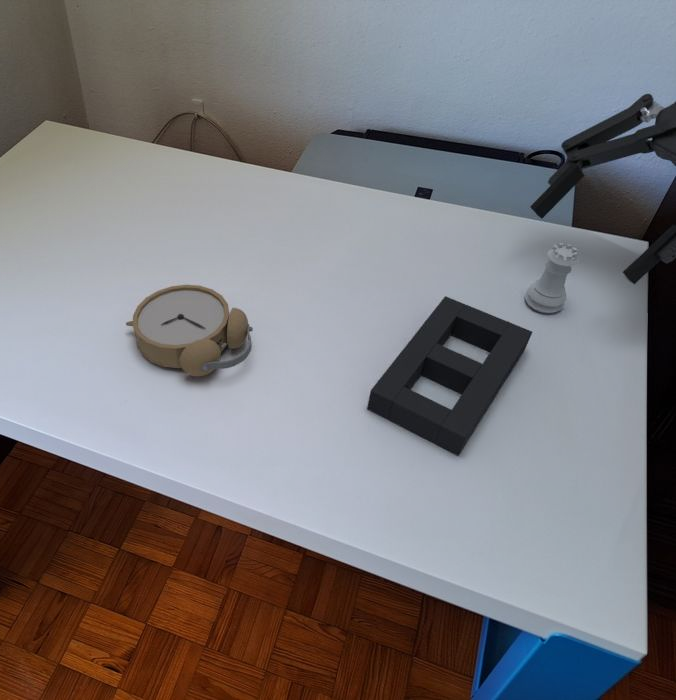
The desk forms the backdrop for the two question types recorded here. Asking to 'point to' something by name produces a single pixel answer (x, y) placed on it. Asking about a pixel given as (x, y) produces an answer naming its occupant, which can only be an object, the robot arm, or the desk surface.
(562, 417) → the desk surface
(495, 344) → the socket pad
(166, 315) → the alarm clock
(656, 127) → the robot arm
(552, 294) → the rook chess piece
